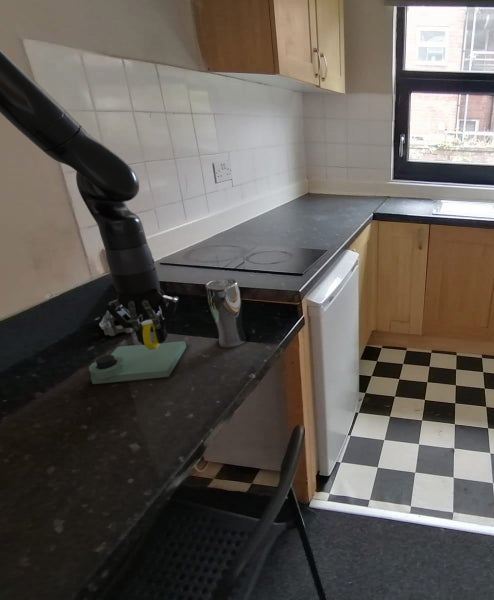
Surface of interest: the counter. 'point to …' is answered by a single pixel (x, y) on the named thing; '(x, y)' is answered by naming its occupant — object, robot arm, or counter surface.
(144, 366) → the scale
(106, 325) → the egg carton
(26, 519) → the counter surface
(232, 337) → the beer glass
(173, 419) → the counter surface
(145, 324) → the watch
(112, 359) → the power button
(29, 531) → the counter surface
